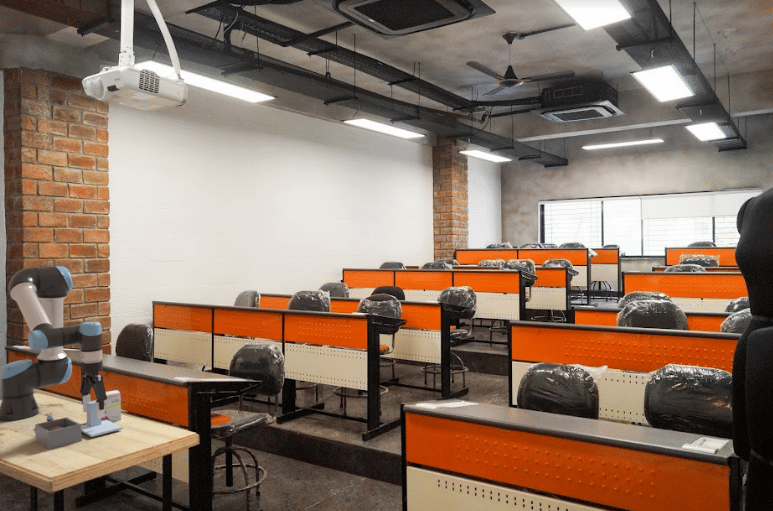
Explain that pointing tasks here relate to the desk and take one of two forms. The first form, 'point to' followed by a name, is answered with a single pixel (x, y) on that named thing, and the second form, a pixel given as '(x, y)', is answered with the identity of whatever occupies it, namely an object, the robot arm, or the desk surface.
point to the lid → (97, 422)
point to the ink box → (112, 406)
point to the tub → (58, 433)
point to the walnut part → (54, 428)
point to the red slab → (50, 418)
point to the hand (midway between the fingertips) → (93, 414)
